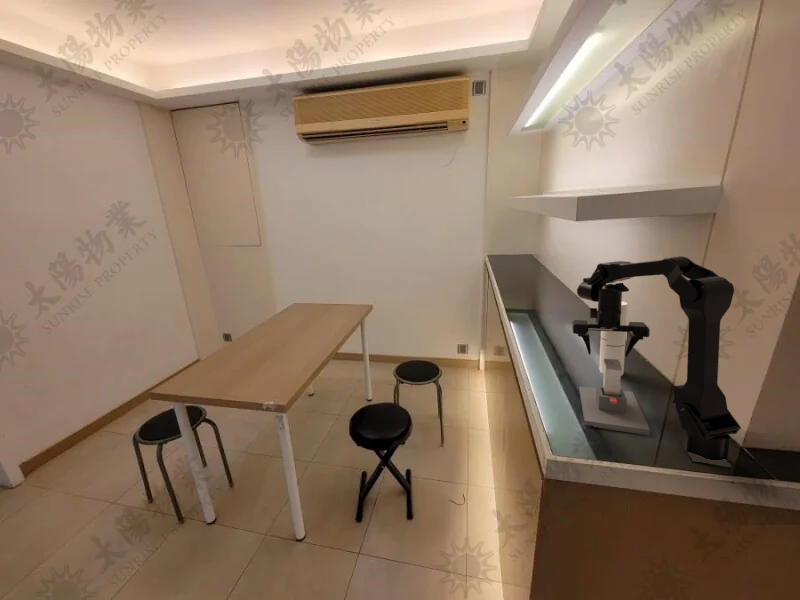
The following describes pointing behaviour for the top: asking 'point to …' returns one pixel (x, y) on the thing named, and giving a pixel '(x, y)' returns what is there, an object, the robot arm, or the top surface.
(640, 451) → the top surface
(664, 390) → the top surface
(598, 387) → the jack stand base
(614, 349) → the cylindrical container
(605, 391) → the grey-brown stepped block
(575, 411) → the top surface
